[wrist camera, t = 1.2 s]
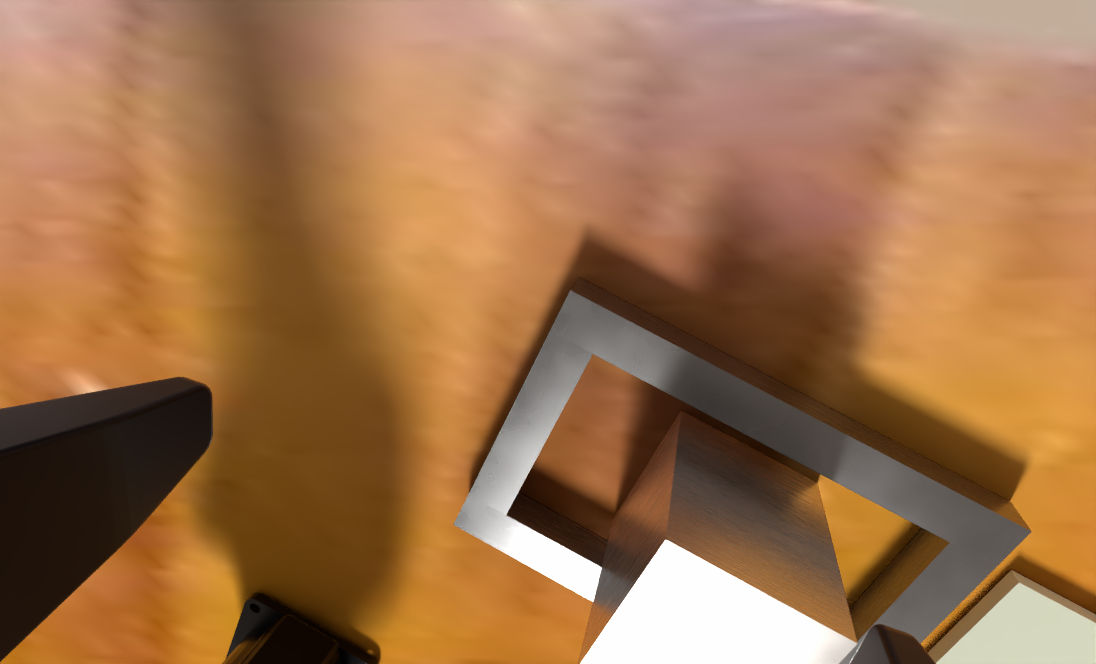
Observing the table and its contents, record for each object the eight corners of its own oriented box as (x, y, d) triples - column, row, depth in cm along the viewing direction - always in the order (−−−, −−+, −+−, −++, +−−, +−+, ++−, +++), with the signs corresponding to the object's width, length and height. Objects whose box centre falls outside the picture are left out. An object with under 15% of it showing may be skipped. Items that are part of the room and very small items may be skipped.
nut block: (738, 584, 24) (744, 764, 18) (613, 516, 24) (576, 670, 18) (817, 482, 22) (857, 643, 16) (681, 410, 22) (665, 539, 16)
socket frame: (824, 697, 25) (831, 733, 23) (467, 501, 25) (453, 524, 24) (1010, 502, 21) (1031, 531, 19) (579, 277, 21) (569, 290, 20)
